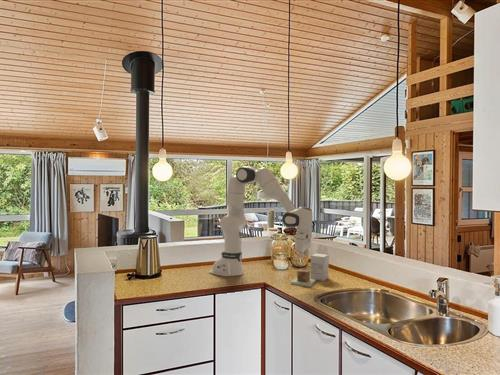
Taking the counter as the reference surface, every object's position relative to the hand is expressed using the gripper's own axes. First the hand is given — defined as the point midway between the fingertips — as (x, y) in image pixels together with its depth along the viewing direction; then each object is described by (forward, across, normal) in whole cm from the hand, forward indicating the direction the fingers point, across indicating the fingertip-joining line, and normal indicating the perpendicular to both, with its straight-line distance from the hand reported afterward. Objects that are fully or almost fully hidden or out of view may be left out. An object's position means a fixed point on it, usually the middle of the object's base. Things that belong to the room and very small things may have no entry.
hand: (303, 256), depth 238 cm
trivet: (+16, 0, +1) cm, 16 cm away
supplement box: (+16, -15, +7) cm, 23 cm away
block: (+14, 0, +1) cm, 14 cm away
